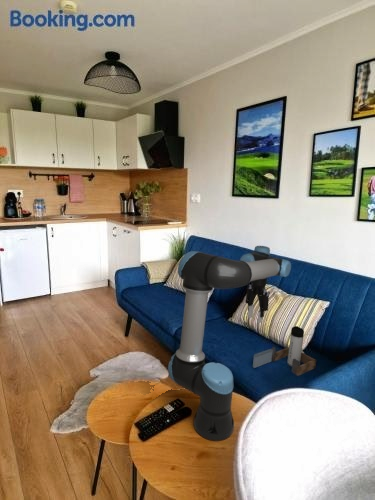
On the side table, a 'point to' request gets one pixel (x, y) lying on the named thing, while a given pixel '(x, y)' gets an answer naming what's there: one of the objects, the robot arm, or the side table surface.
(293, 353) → the travel mug
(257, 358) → the grey rectangular panel
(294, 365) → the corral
